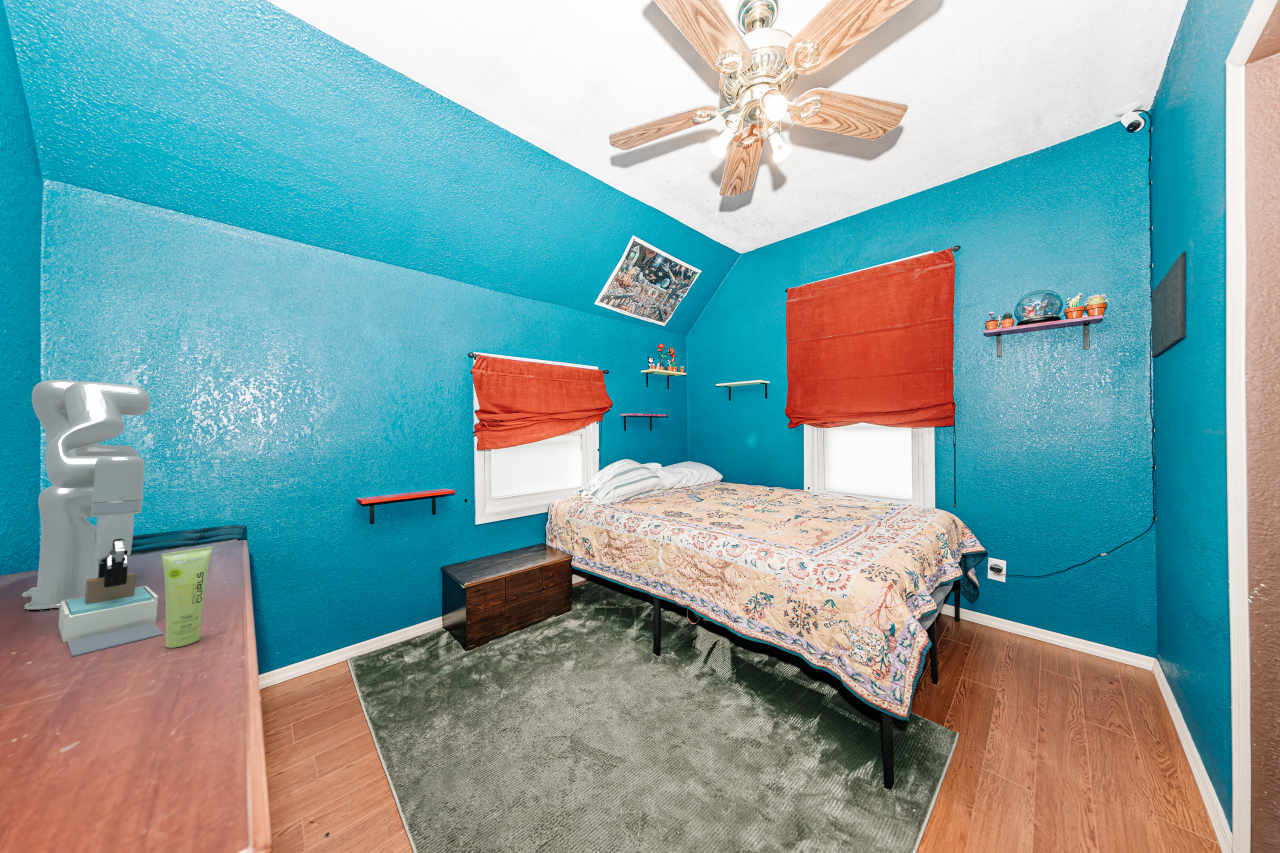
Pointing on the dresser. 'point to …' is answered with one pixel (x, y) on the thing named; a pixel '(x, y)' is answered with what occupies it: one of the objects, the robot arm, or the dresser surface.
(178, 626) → the tube
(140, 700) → the dresser surface
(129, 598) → the lid
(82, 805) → the dresser surface
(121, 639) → the mat
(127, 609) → the box
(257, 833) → the dresser surface
